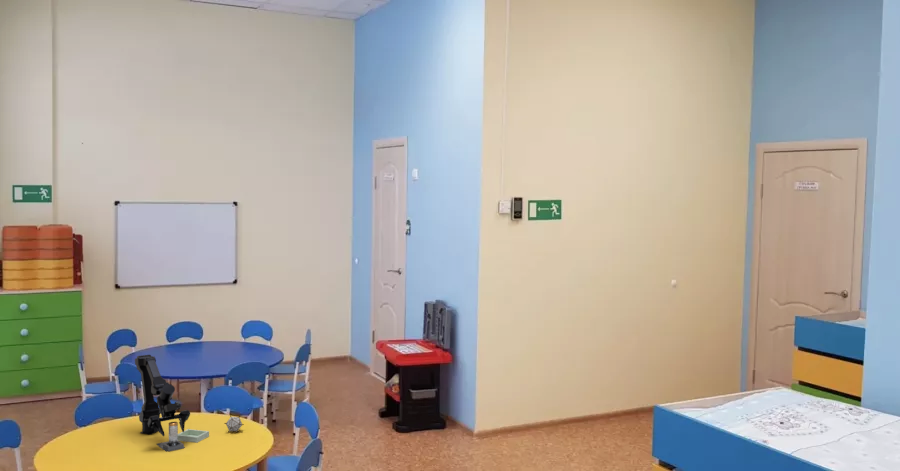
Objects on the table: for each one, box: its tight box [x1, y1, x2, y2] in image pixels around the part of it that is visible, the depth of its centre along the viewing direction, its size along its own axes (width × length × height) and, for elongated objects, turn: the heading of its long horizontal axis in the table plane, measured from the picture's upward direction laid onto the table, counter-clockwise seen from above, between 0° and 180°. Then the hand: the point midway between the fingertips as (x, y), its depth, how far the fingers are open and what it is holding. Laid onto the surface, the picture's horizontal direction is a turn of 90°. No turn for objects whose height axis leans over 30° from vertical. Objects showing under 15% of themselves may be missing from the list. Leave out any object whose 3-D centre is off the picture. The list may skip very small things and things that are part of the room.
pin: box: [168, 421, 179, 446], centre depth 358 cm, size 4×4×12 cm
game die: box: [224, 415, 244, 433], centre depth 387 cm, size 9×8×10 cm
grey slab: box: [155, 440, 186, 452], centre depth 362 cm, size 15×9×3 cm, turn 40°
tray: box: [178, 428, 210, 443], centre depth 373 cm, size 12×10×4 cm
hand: (173, 433), depth 358 cm, fingers open, 9 cm apart
